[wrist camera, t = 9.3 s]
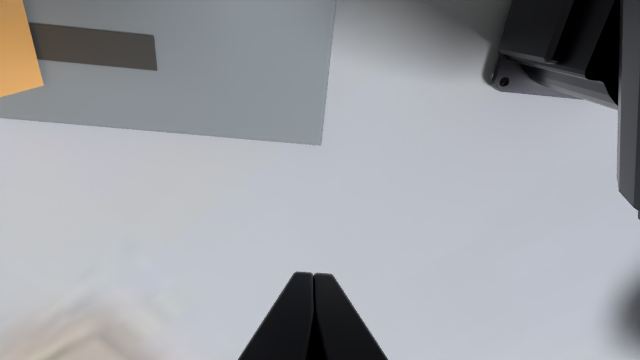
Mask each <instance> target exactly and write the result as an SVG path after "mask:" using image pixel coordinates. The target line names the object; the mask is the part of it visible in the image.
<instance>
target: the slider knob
mask: <svg viewBox="0 0 640 360" xmlns="http://www.w3.org/2000/svg"><path fill="white" fill-rule="evenodd" d="M40 86H44V84H43V80H42V76H41V72H40V68H39V64H38V60H37V56H36V52H35V48H34V44H33V40H32V36H31V32H30V28H29V24H28V20H27V16H26V12H25V8H24V4H23V0H0V97H3V96H7V95H10V94H14V93H18V92H22V91H25V90H29V89H33V88H37V87H40Z"/></svg>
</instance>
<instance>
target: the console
mask: <svg viewBox="0 0 640 360" xmlns="http://www.w3.org/2000/svg"><path fill="white" fill-rule="evenodd" d="M23 4H24V8H25V12H26V16H27V20H28V24H29V28H30V32H31V36H32V40H33V44H34V48H35V52H36V56H37V60H38V64H39V68H40V72H41V76H42V80H43V84H44V86H40V87H37V88H33V89H29V90H25V91H22V92H18V93H14V94H10V95H7V96H3V97H0V118H6V119H18V120H30V121H41V122H53V123H64V124H76V125H88V126H99V127H111V128H122V129H134V130H146V131H157V132H169V133H181V134H192V135H204V136H215V137H227V138H239V139H250V140H262V141H273V142H285V143H297V144H308V145H320V146H321V142H322V133H323V123H324V114H325V104H326V94H327V85H328V75H329V66H330V56H331V46H332V37H333V27H334V18H335V8H336V0H23Z"/></svg>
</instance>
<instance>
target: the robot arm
mask: <svg viewBox="0 0 640 360" xmlns="http://www.w3.org/2000/svg"><path fill="white" fill-rule="evenodd" d="M499 51H500V54H499V58H498V61H497V64H496V68H495V71H494V74H493V77H492V82H491V84H492V87H493V88H494V89H496V90H498V91H501V92H511V93H522V94H532V95H542V96H552V97H562V98H573V99H583V100H587V101H591V102H594V103H597V104H600V105H603V106H606V107H609V108H613V109H616V110H618V147H617V180H618V188H619V192H620V193H621V194H622V195H623V196H624V197H625V198H626V200H627V201H628V202H629V203H630V204H631V205H632V206H633V207H634V208H635V209H637V210H638V218H639V219H640V0H513V1H512V4H511V8H510V11H509V14H508V18H507V21H506V24H505V27H504V31H503V34H502V37H501V41H500V44H499ZM503 77H505V78H506V81H505V83H504V84H503V85H500V80H501V79H502V78H503ZM238 360H388V359H387V357H386V356H385V354H384V353H383V351H382V349H381V348H380V346H379V345H378V343H377V342H376V340H375V339H374V337H373V336H372V334H371V333H370V331H369V330H368V328H367V326H366V325H365V323H364V322H363V320H362V319H361V317H360V316H359V314H358V313H357V311H356V310H355V308H354V307H353V305H352V303H351V302H350V300H349V299H348V297H347V296H346V294H345V293H344V291H343V290H342V288H341V287H340V285H339V284H338V282H337V281H336V279H335V277H334V276H333V275H332V274H327V273H315V274H314V276H313V274H312V273H310V272H295V273H294V274H293V275H292V277H291V278H290V280H289V281H288V283H287V285H286V286H285V288H284V289H283V291H282V292H281V294H280V295H279V297H278V298H277V300H276V302H275V303H274V305H273V306H272V308H271V309H270V311H269V312H268V314H267V315H266V317H265V318H264V320H263V322H262V323H261V325H260V326H259V328H258V329H257V331H256V332H255V334H254V335H253V337H252V339H251V340H250V342H249V343H248V345H247V346H246V348H245V349H244V351H243V352H242V354H241V355H240V357H239V359H238Z"/></svg>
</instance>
